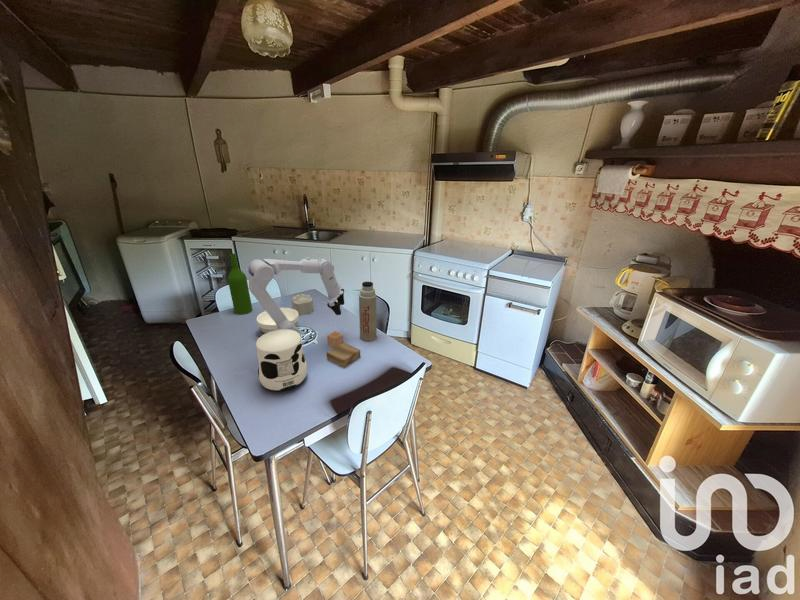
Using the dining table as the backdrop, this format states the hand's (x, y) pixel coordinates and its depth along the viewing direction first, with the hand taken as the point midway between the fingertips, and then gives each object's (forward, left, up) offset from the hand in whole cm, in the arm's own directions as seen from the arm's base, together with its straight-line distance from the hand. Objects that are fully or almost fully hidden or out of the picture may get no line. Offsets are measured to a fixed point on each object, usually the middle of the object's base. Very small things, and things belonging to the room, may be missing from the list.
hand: (340, 309), depth 142 cm
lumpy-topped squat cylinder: (+9, +40, -16) cm, 43 cm away
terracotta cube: (-6, -1, -15) cm, 16 cm away
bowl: (-14, +29, -15) cm, 35 cm away
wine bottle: (-12, +64, -15) cm, 66 cm away
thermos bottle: (+8, -9, -15) cm, 20 cm away
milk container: (-36, -4, -15) cm, 39 cm away
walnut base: (-12, -12, -16) cm, 23 cm away
